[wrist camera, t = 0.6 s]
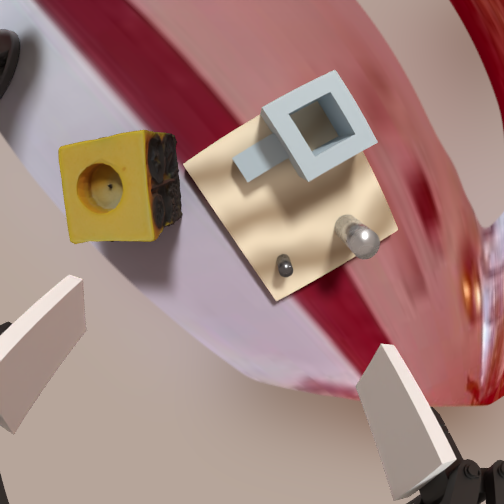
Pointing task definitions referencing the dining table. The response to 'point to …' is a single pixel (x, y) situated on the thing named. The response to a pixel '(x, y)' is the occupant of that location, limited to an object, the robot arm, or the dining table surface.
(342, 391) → the dining table surface
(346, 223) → the post
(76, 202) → the yellow black cube
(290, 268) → the dowel
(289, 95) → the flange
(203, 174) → the board
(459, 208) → the dining table surface
